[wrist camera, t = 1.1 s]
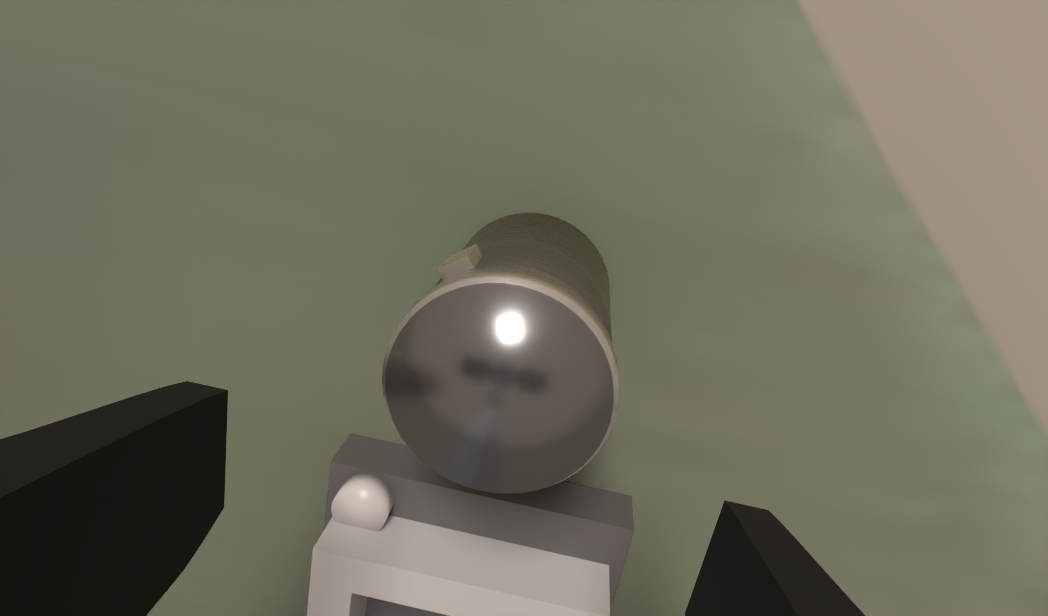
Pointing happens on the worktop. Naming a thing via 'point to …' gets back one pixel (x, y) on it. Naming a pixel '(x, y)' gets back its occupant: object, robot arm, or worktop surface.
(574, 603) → the camera body
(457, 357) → the lens
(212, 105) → the worktop surface
